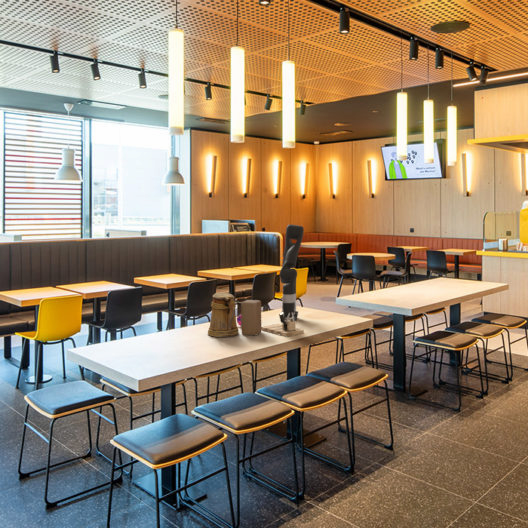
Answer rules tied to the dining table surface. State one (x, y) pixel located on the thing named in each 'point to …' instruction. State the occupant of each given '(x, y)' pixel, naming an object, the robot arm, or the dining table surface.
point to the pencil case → (239, 319)
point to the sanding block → (289, 326)
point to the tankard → (223, 316)
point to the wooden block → (251, 317)
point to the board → (278, 330)
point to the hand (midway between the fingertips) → (288, 328)
